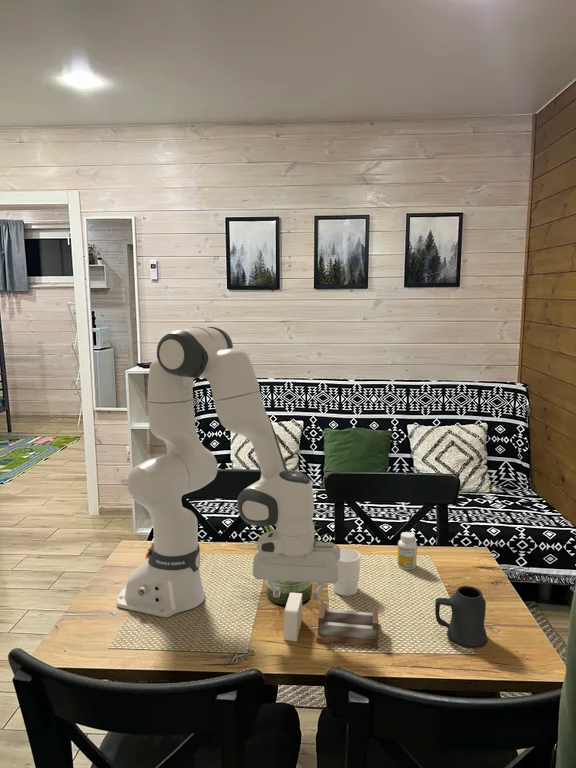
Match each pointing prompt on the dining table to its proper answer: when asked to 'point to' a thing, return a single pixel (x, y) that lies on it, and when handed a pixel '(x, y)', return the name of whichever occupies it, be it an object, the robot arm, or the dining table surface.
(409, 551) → the supplement bottle
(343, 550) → the white cup
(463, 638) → the mug
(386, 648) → the dining table surface
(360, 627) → the brown wooden rack
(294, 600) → the white block with hole
